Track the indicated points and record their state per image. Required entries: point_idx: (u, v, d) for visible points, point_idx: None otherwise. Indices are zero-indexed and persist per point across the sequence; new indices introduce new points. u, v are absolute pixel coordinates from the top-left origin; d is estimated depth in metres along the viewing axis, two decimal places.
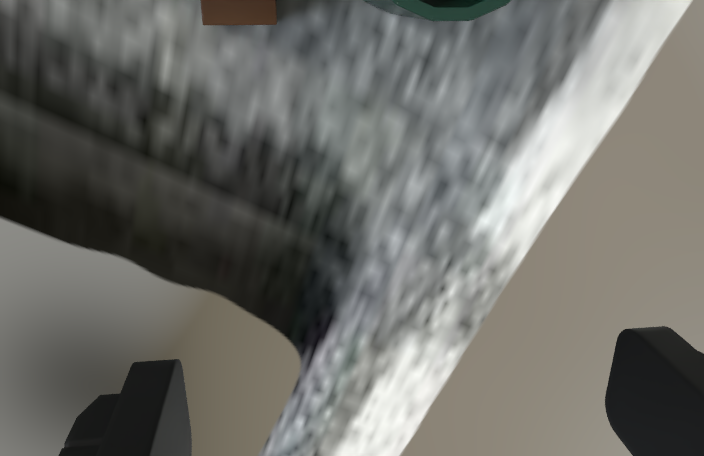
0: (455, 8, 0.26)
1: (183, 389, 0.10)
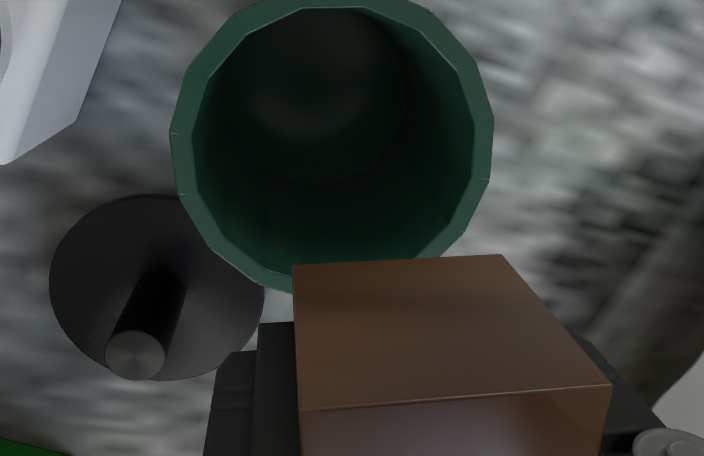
0: (475, 146, 0.17)
1: None
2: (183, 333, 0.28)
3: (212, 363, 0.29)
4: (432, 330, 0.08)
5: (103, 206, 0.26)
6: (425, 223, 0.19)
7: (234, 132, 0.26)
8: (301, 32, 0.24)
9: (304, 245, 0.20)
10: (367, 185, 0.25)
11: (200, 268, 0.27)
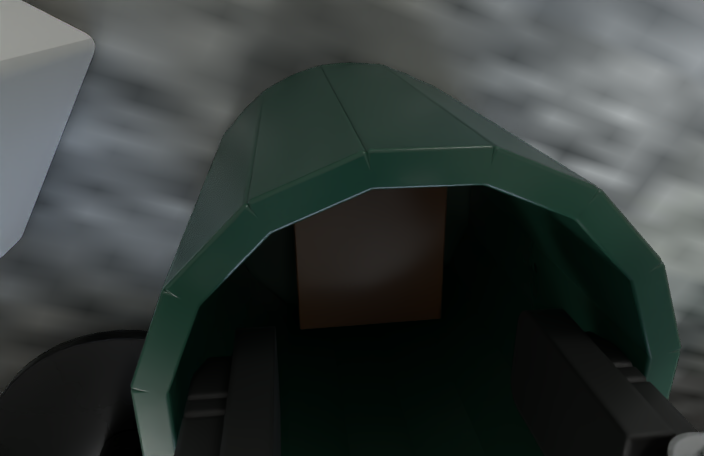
0: None
1: None
2: None
3: None
4: None
5: (59, 349, 0.19)
6: None
7: None
8: None
9: None
10: (419, 329, 0.19)
11: None
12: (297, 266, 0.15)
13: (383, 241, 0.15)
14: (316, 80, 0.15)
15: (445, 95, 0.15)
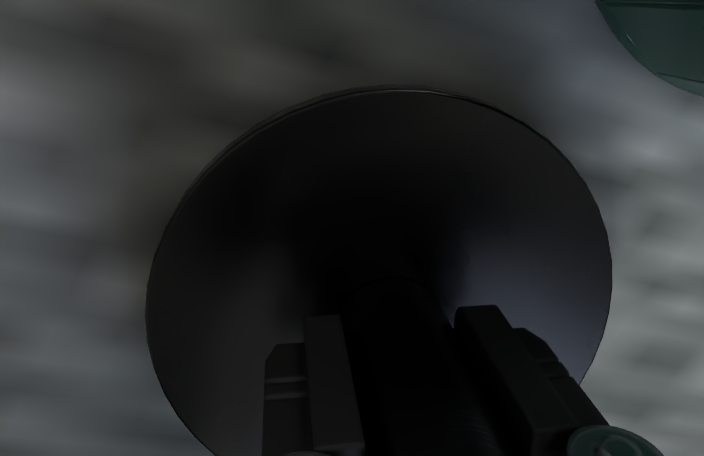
0: None
1: None
2: None
3: None
4: None
5: (295, 109, 0.10)
6: None
7: None
8: None
9: None
10: None
11: (490, 266, 0.12)
12: None
13: None
14: None
15: None
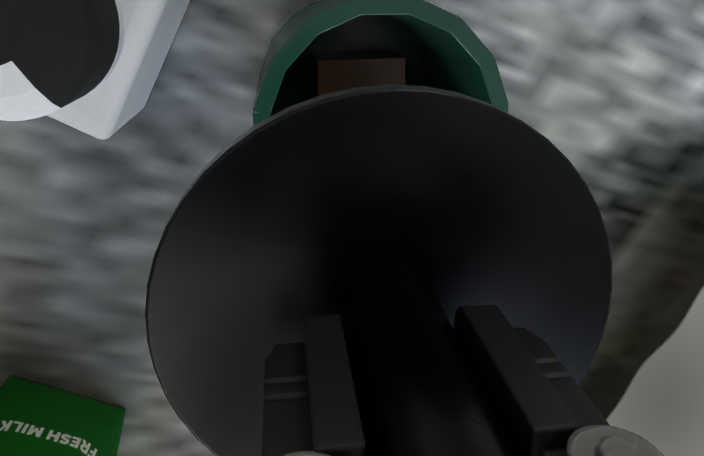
0: None
1: None
2: None
3: None
4: (357, 55, 0.27)
5: (294, 109, 0.10)
6: None
7: None
8: (338, 33, 0.29)
9: None
10: None
11: (489, 266, 0.12)
12: None
13: None
14: None
15: None
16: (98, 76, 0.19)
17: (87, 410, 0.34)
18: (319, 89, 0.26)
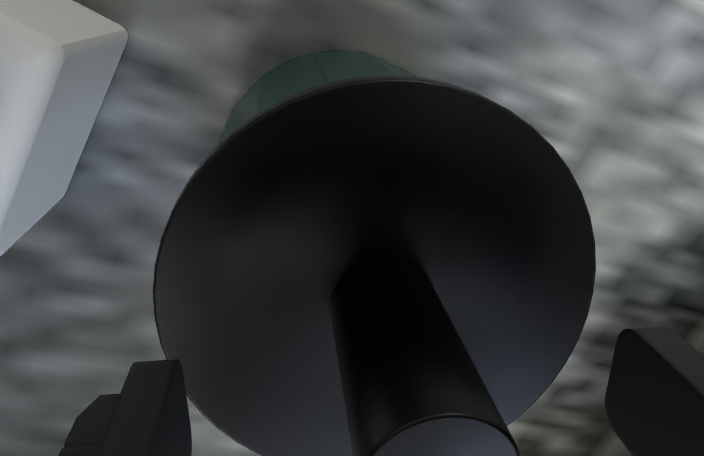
0: None
1: (183, 389, 0.10)
2: None
3: None
4: None
5: (293, 98, 0.11)
6: None
7: None
8: None
9: None
10: None
11: (479, 248, 0.13)
12: None
13: None
14: (307, 62, 0.18)
15: (411, 74, 0.19)
16: None
17: None
18: None
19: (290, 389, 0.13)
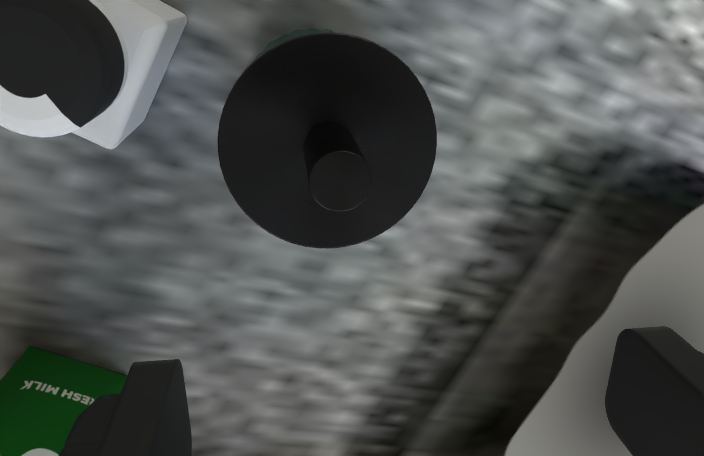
0: None
1: (183, 389, 0.10)
2: None
3: (374, 229, 0.28)
4: None
5: (284, 42, 0.24)
6: None
7: None
8: None
9: None
10: None
11: (375, 118, 0.26)
12: None
13: None
14: (294, 34, 0.32)
15: None
16: (108, 102, 0.25)
17: (94, 376, 0.40)
18: None
19: (284, 193, 0.27)
